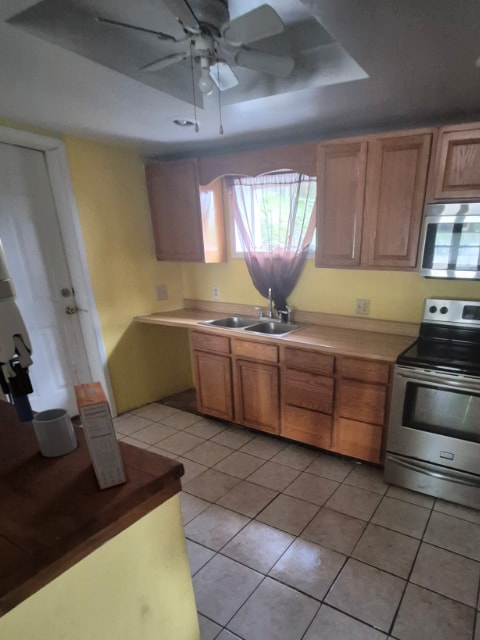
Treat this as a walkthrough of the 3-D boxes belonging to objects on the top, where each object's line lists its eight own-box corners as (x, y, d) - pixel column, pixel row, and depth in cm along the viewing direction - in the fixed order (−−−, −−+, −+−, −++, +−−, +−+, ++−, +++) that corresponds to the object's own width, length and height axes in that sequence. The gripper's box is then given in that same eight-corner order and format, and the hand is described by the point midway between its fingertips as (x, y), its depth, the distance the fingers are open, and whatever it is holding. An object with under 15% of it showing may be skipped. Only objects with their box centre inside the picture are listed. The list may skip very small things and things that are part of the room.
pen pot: (34, 457, 95) (23, 422, 91) (53, 441, 102) (43, 408, 98) (66, 456, 95) (56, 422, 91) (83, 440, 103) (74, 408, 99)
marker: (15, 422, 70) (-3, 367, 65) (24, 416, 72) (7, 362, 67) (29, 422, 70) (12, 367, 65) (37, 416, 72) (21, 362, 67)
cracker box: (92, 462, 93) (72, 384, 85) (118, 455, 96) (101, 379, 88) (98, 491, 82) (76, 406, 74) (127, 483, 85) (109, 400, 77)
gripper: (-67, 289, 61) (-29, 392, 69) (-12, 297, 55) (23, 410, 62) (-15, 285, 67) (14, 379, 75) (40, 292, 61) (66, 394, 68)
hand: (18, 392), depth 68 cm, fingers closed on marker, 2 cm apart
